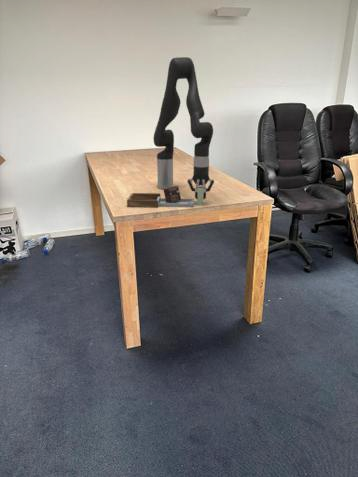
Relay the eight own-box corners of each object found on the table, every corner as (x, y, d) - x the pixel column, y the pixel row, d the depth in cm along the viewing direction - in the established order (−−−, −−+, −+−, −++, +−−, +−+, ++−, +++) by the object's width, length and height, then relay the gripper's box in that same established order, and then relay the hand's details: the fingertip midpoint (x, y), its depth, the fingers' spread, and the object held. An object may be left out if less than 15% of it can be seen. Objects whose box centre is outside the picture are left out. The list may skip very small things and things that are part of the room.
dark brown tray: (132, 199, 192) (131, 193, 191) (160, 199, 191) (160, 193, 190) (127, 207, 180) (126, 200, 178) (157, 207, 179) (157, 200, 177)
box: (171, 203, 180) (168, 188, 178) (165, 202, 185) (162, 188, 183) (181, 200, 182) (178, 185, 181) (176, 199, 188) (173, 185, 186)
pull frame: (158, 200, 189) (158, 184, 186) (203, 201, 188) (203, 184, 184) (156, 206, 180) (155, 188, 177) (203, 207, 179) (203, 189, 176)
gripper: (215, 163, 179) (214, 197, 186) (187, 163, 180) (186, 196, 187) (215, 166, 172) (214, 201, 179) (186, 166, 173) (186, 200, 180)
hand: (200, 198), depth 183 cm, fingers closed on pull frame, 3 cm apart
